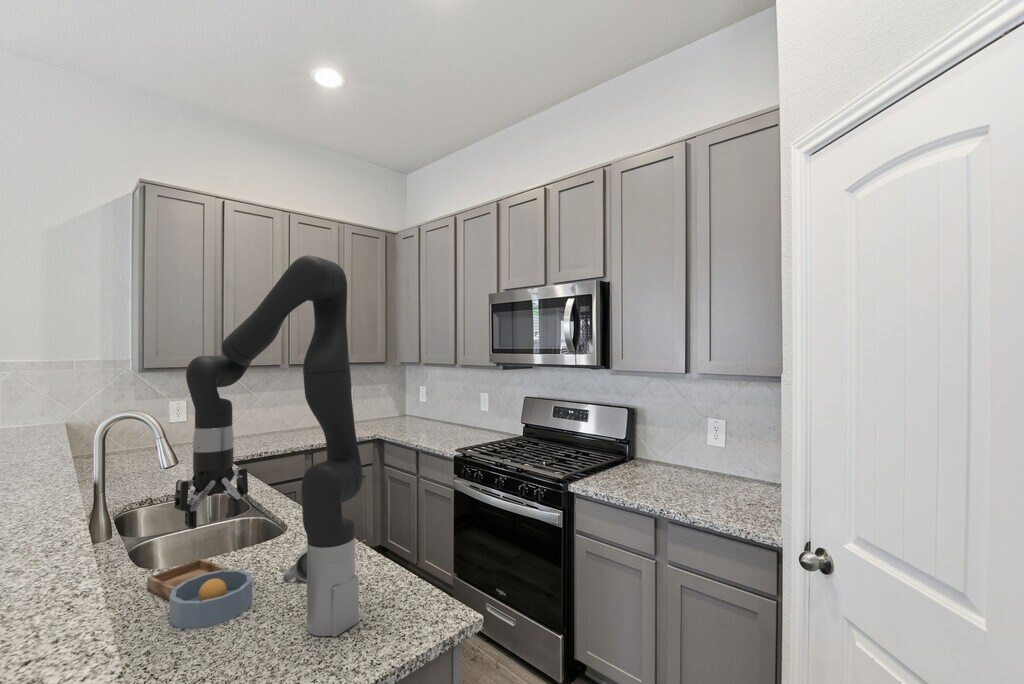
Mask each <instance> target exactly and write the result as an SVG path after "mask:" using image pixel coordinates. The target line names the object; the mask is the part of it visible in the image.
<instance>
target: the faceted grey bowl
mask: <svg viewBox="0 0 1024 684" xmlns="http://www.w3.org/2000/svg"><path fill="white" fill-rule="evenodd" d="M214 578H217V579H221V580H223V581H224V582H225V584H226V594H225V595H223V596H220V597H216V598H211V599H207V600H202V601H200V600H199V597H198V593H199V590H200V588H201V586H202V585H203V584H204V583H205V582H206V581H208V580H210V579H214ZM168 602H169V603H168V604H169V605H168V606H169V608H168V611H169V613H168V614H169V617H168V619H169V621H168V622H169V624H171V625H173V626H174V627H176V628H178V629H202V628H207V627H210V626H215V625H218V624H222V623H225V622H227V621H229V620H231V619H234V618H236V617H237V616H239V615H241V614H243V613H245V611H246V610H247V609H248V608H249V607H250V606H251V605H252V604H253V575H252V573H251V572H249V571H247V570H246V571H245V570H243V569H229V570H220V571H215V572H210V573H205V574H201V575H199V576H196V577H194V578H191V579H188V580H186V581H184V582H182V583H181V584H179V585H178V586H177V587H175V588H174V589H172V590H171V594H170V598H169V601H168Z"/></svg>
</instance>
